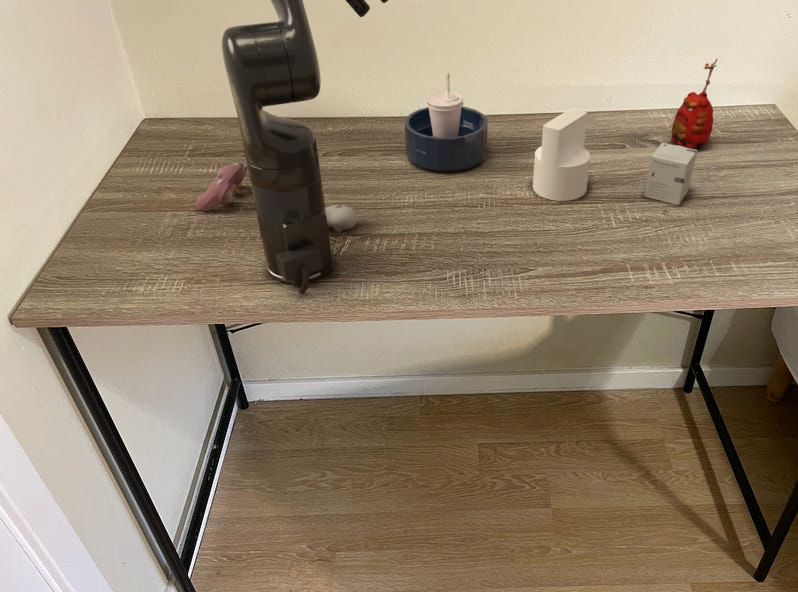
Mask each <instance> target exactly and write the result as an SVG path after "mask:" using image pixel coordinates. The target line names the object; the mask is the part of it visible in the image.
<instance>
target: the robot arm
mask: <svg viewBox="0 0 798 592" xmlns="http://www.w3.org/2000/svg"><path fill="white" fill-rule="evenodd" d="M388 1H389V0H380V2H381V3H382V4H386V3H387V2H388ZM270 2H271V4H272V6H273V8H274V10H275V13H276V15H277V18H278V21H272V22H271V21H270V22H269V21H268V22H261V23H260V22H259V23H252V24H243V25H234V26H230V27H228V28H226V29H225V30H224V31H223V34H222V38H221V53H222V59H223V64H224V68H225V73H226V76H227V77H226V78H227V80H228V81H227V82H228V85H229V88H230V91H231V92H230V93H231V96H232V99H233V103H234V108H235V111H236V115H237V119H238V125H239V131H240V134H241V141H242V147H243V151H244V157H245V161H246V167H248V169H247V172H248V176H249V181H250V187H251V192H252V197H253V202H254V206H255V212H256V218H257V222H258V228H259V234H260V239H261V242H262V248H263V251H264V256H265V263H266V264H265V265H266V269H267V273H268V274H269V276H270V277H271V278H273V279H274V280H276V281H279V282H282V283H287V284H291V285H292V286H294V287H298V286H300V287H299V288H298V290H297V291H298V293H299V294H300V295H304V294H305V293H306V291H307V290H308V289H309V286H310V282H313V281H315V280H319V279H321V278H324V277H326V276H329V275H331V274H334V273H335V269H334V257H333V253H332V248H331V247H332V246H331V240H330V233H329V227H328V224H327V216H326V210H325V209H326V203H325V196H324V189H323V183H322V182H323V181H322V175H321V165H320V159H319V151H318V144H317V138H316V133H315V132H314V129H312V128H311V127H310V126H309V125H308V124H306V123H304V122H302V121H299V120H295V119H291V118H285V117H283V116H282V117H281V116H278V115H275V114H272V113H270V112H268V111H266V110H264V109H263V108H266V107H272V106H279V105H287V104H292V103H294V104H295V103H300V102H306V101H311V100H314V99H316V98H317V97H318V96H319V94H320V91H321V85H322V84H321V83H322V80H321V79H322V77H321V69H320V62H319V58H318V53H317V48H316V45H315V41H314V37H313V33H312V30H311V26H310V22H309V19H308V14H307V11H306V8H305V4H304V1H303V0H270ZM345 2H346V3H347V4H348V5H349V7H350V8H352V10H353V11H354V12H355V13H356V14H357V16H358V17H359V18H363V17H365V16H366V15H367V14H368V12H369V11H371V7H370V4H369V3H368V2H366V0H345Z"/></svg>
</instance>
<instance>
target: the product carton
mask: <svg viewBox="0 0 798 592" xmlns="http://www.w3.org/2000/svg"><path fill="white" fill-rule="evenodd" d="M697 155H698V149H696V148H695V149H690V148H686V147H682V146H678V145H677V144H670V143H668V142H667V143H666V142H661V143H660V145H659V146H658V147H657V149H656V150H655V151H654V152H653V154H652V155H651V157H650V163H649V167H648V173H647V178H646V183H645V190H644V193H643V196H644V197H645V198H647V199H652V200H656V201H661V202H665V203H668V204H672V205H675V206H679V205H681V202H682V201H683V199H684V198H685V196H686V194H687V193H688V191H689V189H690V185H691V181H692V176H693V173H694V169H695V163H696V159H697Z"/></svg>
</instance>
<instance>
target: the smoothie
mask: <svg viewBox="0 0 798 592" xmlns="http://www.w3.org/2000/svg"><path fill="white" fill-rule="evenodd" d="M445 85H446V86H445V87H446V91H440V92H435V93H432V94H429V95H428V96H427V97H426V108H427V107H428V108H429V113H430V119H431V125H432V132H433V137H458V132H459V124H460V116H461V107H462V106H463V107H464V97H463V96H462V95H461V94H459V93H456V92H452V91H451V90H450V89H451V87H450V72H446V73H445Z"/></svg>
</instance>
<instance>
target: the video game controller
mask: <svg viewBox="0 0 798 592" xmlns="http://www.w3.org/2000/svg"><path fill="white" fill-rule="evenodd" d="M247 172H248V167H247V165H244V164H242V163H240V162H236V161H234V160H233V161H232V162H231V163H230V164H227V165H224V166H223V167H221V168H219V170H218V172H217V175H216V177H215V178H214V179H213V181H212V182H211V184H210V185H209V187H208V189H207V190H206V191H205V192H204V193H202V195H200V196H199V197H198V198H197V200H196V203H195V204H196V208H197V209H198V210H200V211H201V212H209V211H212V210H214V209H215V208H217V207H218V206H219V205H222V206H223V207H224V206H226V205H227V204H228V202H229V200H230V198H232V197H234V196H235V195H236V194H238V193H239V191H240V189H239V188H240V186H241V184H242V183H243V181H244V179H245V177H246V175H247Z"/></svg>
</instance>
